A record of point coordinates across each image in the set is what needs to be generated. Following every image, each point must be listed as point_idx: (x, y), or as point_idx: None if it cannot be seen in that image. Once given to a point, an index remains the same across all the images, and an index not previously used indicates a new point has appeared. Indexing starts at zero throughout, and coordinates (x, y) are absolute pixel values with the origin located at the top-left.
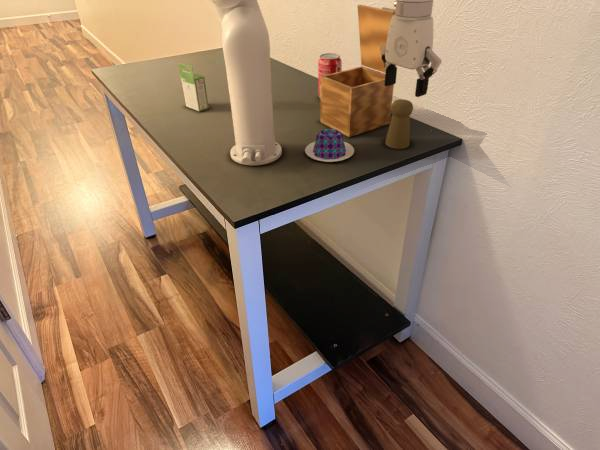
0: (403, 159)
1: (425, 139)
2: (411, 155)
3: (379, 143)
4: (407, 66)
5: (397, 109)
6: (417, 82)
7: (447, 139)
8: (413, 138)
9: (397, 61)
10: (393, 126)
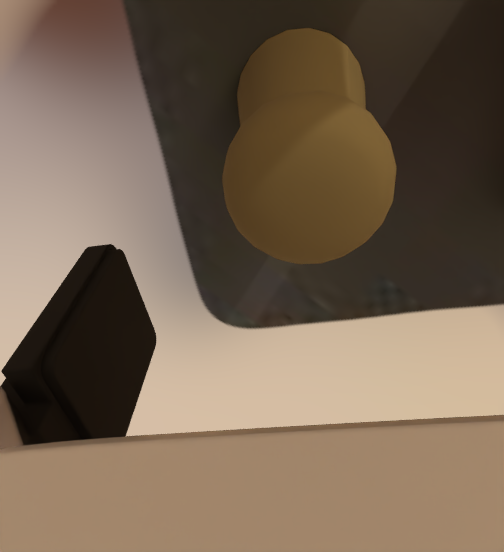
0: (129, 6)
1: None
2: (155, 79)
3: (358, 4)
4: (62, 468)
5: (268, 111)
6: (43, 338)
7: (226, 302)
8: None
9: (438, 509)
10: (293, 73)
